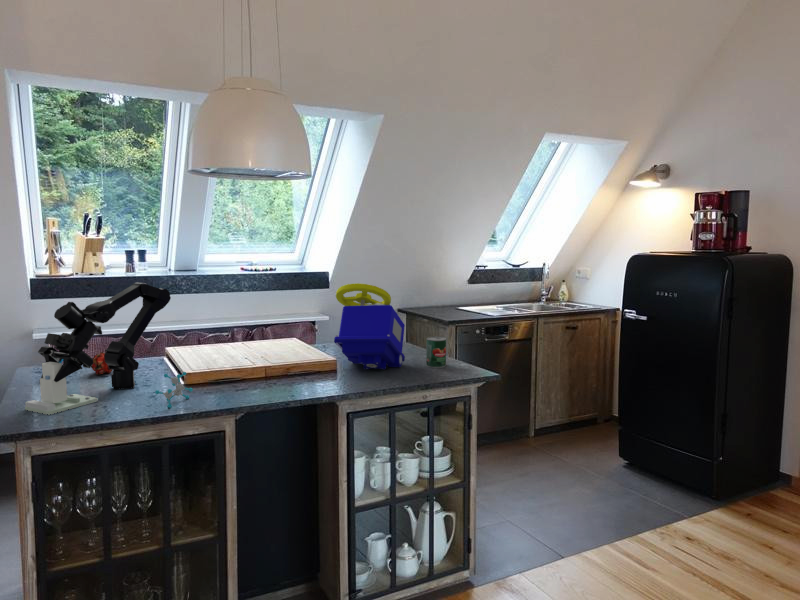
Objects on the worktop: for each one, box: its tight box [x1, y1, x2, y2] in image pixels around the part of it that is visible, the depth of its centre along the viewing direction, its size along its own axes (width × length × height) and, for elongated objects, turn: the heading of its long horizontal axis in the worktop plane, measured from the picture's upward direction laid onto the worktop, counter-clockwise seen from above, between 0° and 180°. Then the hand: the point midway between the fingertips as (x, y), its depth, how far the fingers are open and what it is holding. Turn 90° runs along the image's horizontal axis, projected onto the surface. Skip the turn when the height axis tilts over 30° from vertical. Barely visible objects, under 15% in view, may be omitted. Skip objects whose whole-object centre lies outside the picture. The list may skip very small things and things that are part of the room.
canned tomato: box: [425, 336, 447, 369], centre depth 242 cm, size 8×8×11 cm
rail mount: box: [24, 393, 99, 416], centre depth 186 cm, size 16×11×2 cm
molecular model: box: [154, 371, 194, 409], centre depth 190 cm, size 12×14×15 cm
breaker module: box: [39, 361, 68, 404], centre depth 184 cm, size 5×6×12 cm
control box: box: [333, 282, 406, 371], centre depth 239 cm, size 26×27×30 cm
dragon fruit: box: [90, 351, 113, 376], centre depth 226 cm, size 8×8×12 cm
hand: (48, 380), depth 182 cm, fingers closed on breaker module, 5 cm apart
